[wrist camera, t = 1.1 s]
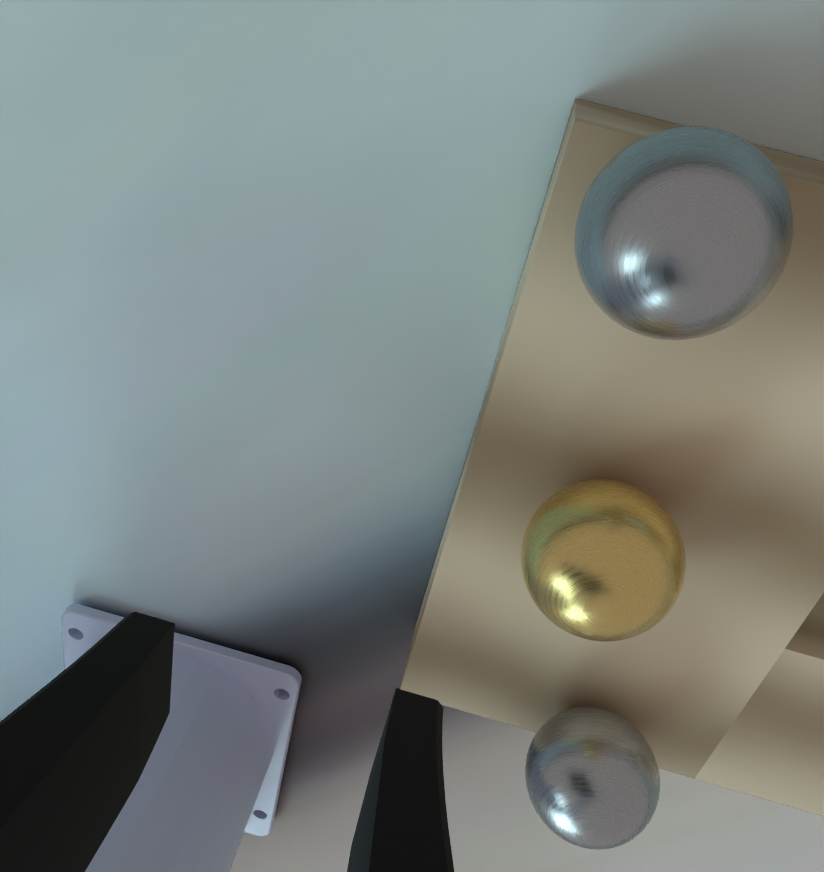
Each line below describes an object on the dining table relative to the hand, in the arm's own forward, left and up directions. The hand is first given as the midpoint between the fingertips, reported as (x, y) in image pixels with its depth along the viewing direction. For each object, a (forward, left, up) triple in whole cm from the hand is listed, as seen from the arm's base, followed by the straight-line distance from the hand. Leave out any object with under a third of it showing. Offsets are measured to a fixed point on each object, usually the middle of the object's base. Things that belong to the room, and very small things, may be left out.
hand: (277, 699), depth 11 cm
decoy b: (+7, -4, -5) cm, 9 cm away
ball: (0, -5, -5) cm, 7 cm away
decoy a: (-6, -7, -5) cm, 11 cm away
